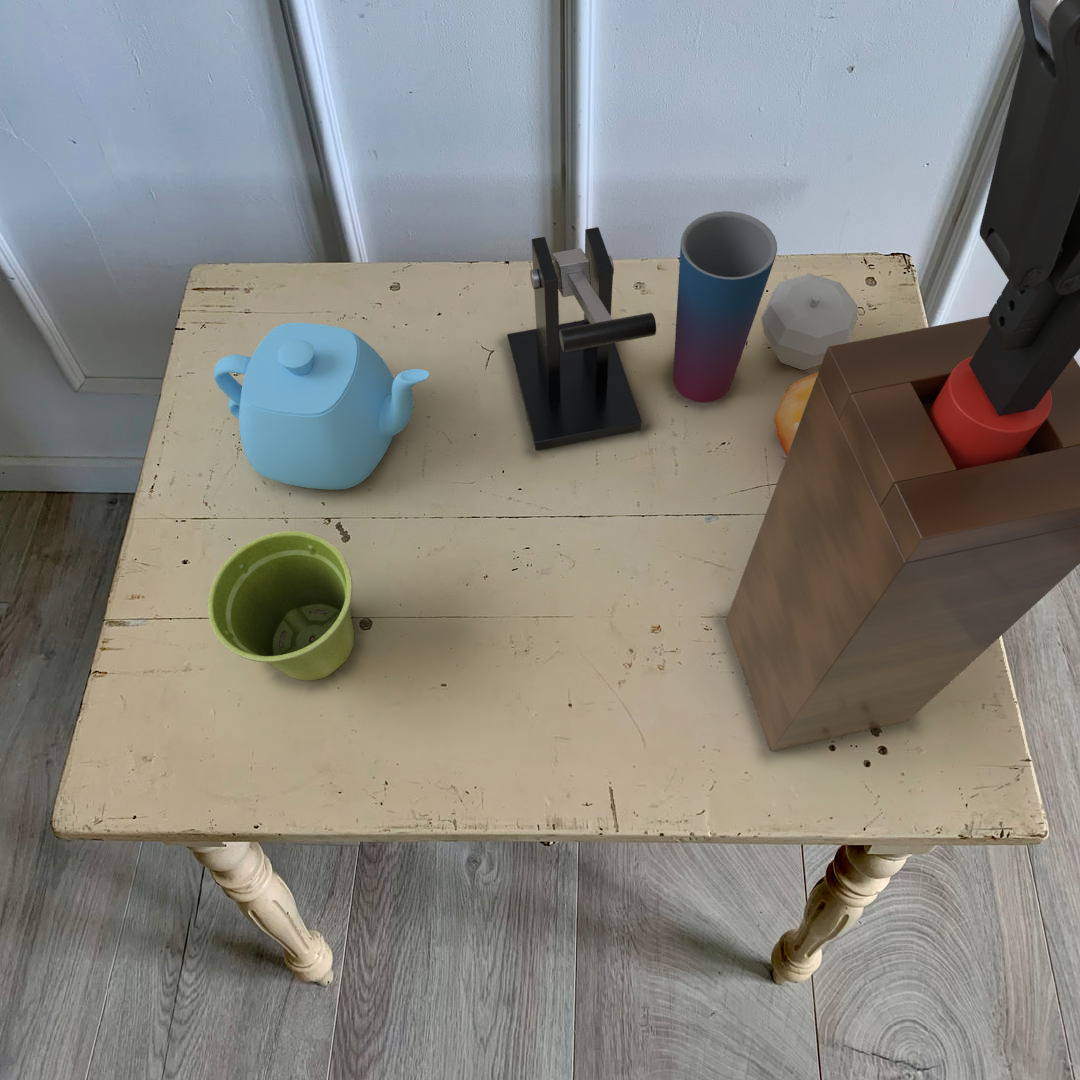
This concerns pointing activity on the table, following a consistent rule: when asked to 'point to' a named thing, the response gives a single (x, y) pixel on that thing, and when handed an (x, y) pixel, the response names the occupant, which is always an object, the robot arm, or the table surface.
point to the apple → (808, 319)
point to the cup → (718, 299)
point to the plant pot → (285, 604)
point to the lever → (593, 308)
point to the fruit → (792, 410)
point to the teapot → (316, 405)
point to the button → (980, 422)
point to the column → (896, 542)
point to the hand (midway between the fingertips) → (1001, 385)
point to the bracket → (570, 362)
